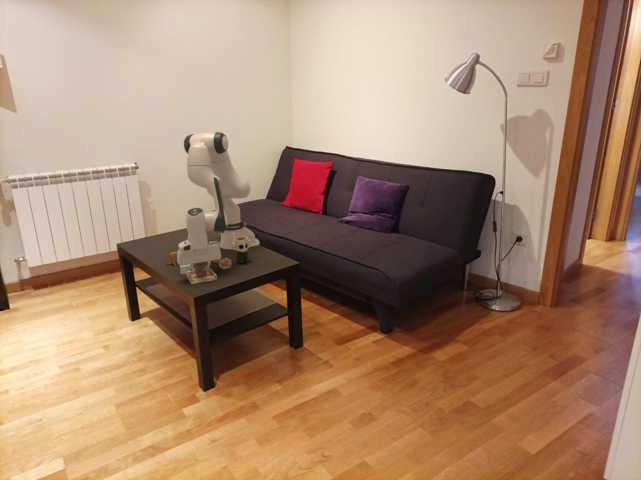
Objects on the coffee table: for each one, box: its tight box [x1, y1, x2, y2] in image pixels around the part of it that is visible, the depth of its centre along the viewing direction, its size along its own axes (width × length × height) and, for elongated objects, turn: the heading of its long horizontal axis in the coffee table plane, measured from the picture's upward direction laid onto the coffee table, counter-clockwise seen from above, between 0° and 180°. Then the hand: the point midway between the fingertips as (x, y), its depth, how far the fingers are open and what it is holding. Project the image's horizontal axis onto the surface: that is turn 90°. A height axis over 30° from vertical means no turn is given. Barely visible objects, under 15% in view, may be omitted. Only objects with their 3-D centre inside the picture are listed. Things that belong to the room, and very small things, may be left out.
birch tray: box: [185, 267, 218, 285], centre depth 231 cm, size 12×12×2 cm
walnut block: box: [194, 262, 207, 277], centre depth 231 cm, size 4×4×5 cm
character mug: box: [231, 236, 251, 264], centre depth 249 cm, size 11×7×13 cm, turn 125°
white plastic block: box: [179, 264, 192, 275], centre depth 238 cm, size 5×5×4 cm
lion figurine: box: [165, 251, 178, 266], centre depth 249 cm, size 15×5×9 cm, turn 119°
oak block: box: [218, 257, 232, 270], centre depth 244 cm, size 4×4×4 cm
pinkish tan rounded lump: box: [211, 258, 221, 264], centre depth 252 cm, size 4×4×4 cm
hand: (200, 270), depth 231 cm, fingers closed on walnut block, 4 cm apart
